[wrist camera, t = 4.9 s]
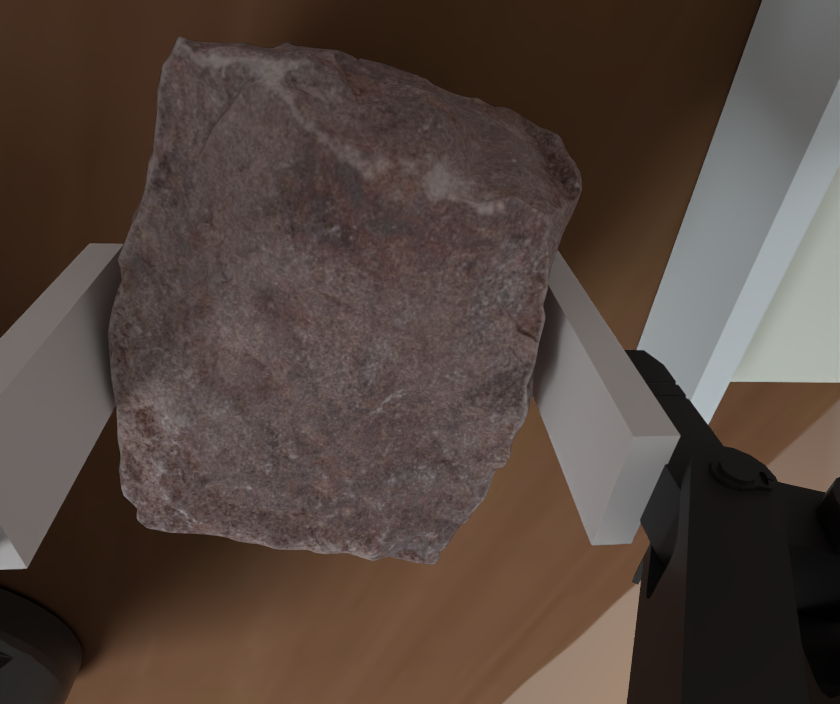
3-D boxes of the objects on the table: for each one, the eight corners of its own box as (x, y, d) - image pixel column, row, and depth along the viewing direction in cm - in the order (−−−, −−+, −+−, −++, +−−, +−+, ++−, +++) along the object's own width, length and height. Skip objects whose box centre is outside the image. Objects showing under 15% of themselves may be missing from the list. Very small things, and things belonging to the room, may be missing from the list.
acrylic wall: (617, 402, 23) (655, 476, 20) (791, -83, 14) (917, -91, 10) (640, 402, 23) (682, 475, 20) (829, -80, 14) (965, -87, 11)
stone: (151, -21, 10) (37, -6, 7) (577, 108, 13) (678, 176, 9) (148, 432, 17) (89, 573, 13) (431, 465, 19) (452, 594, 15)
